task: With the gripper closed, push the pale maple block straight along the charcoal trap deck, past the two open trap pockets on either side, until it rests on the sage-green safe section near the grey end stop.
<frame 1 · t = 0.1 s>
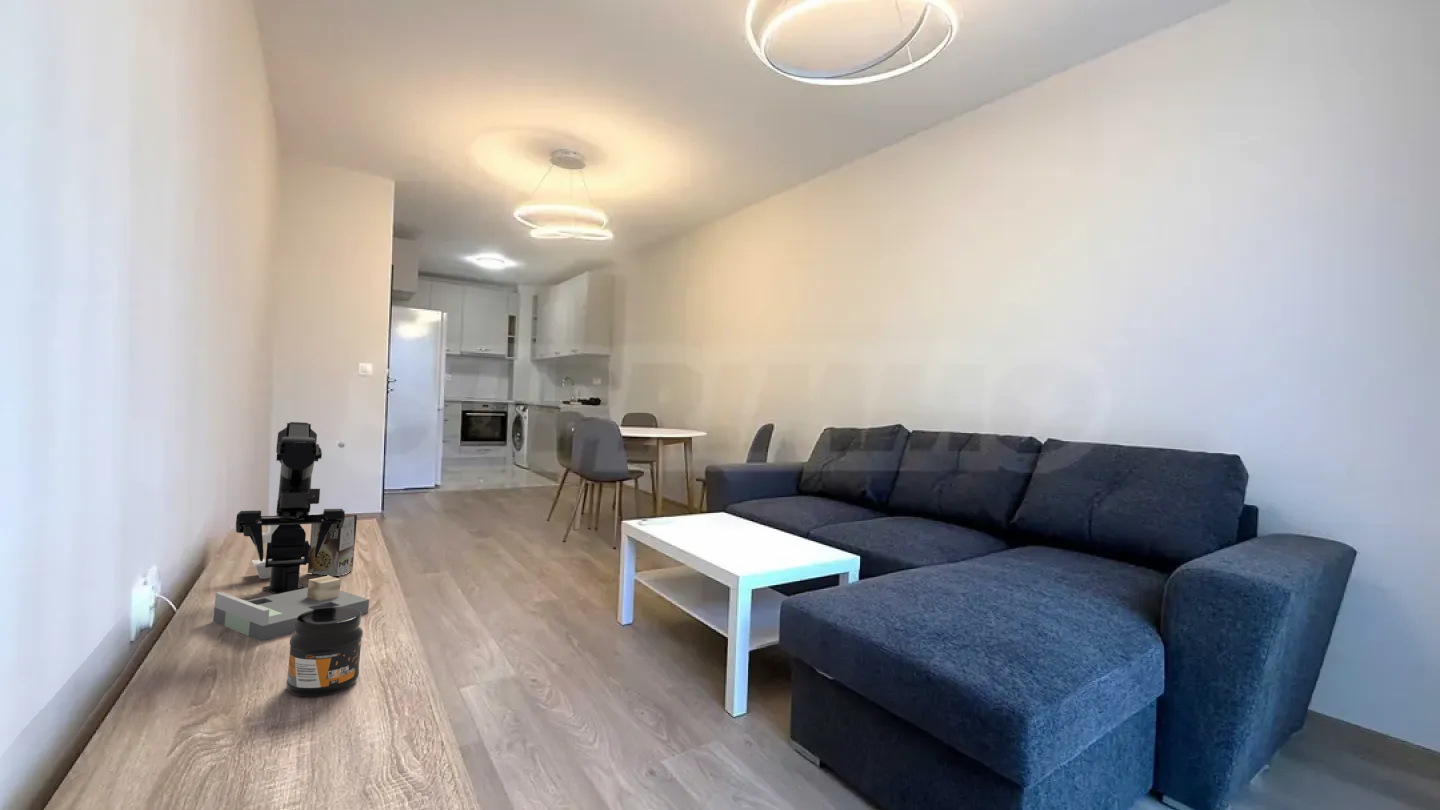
hand: (289, 559, 124), 15 cm above the tv stand, tool tilted 30°, fingers open, 9 cm apart
figurine: (269, 576, 159), on the tv stand
maple block: (323, 596, 137), point 3 cm above the tv stand, touching trap deck
trap deck: (294, 616, 132), on the tv stand
supplement container: (322, 686, 103), on the tv stand
coffee box: (330, 573, 165), on the tv stand
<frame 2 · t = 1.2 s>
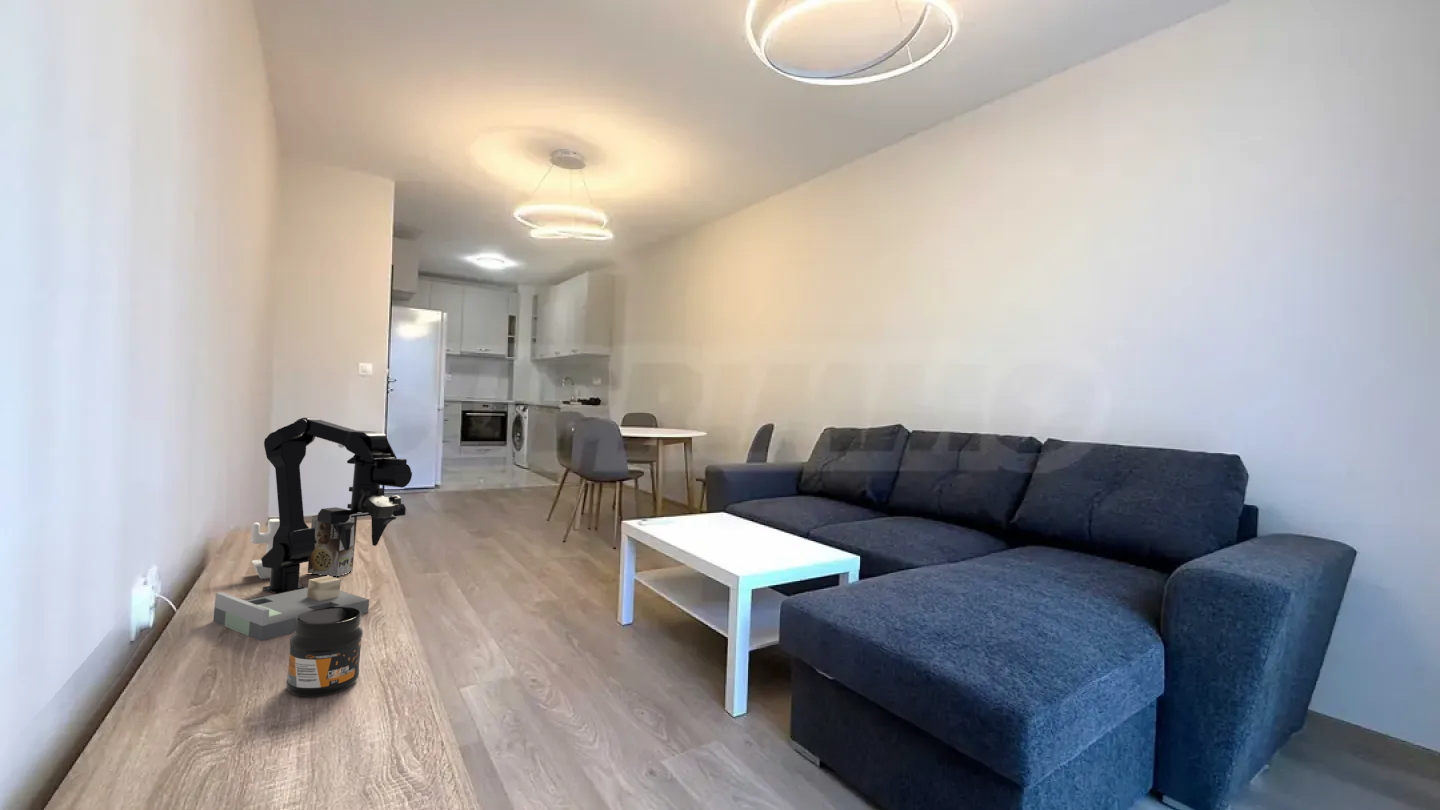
hand: (360, 547, 145), 13 cm above the tv stand, tool pointing down, fingers open, 7 cm apart
nothing on the tv stand moved.
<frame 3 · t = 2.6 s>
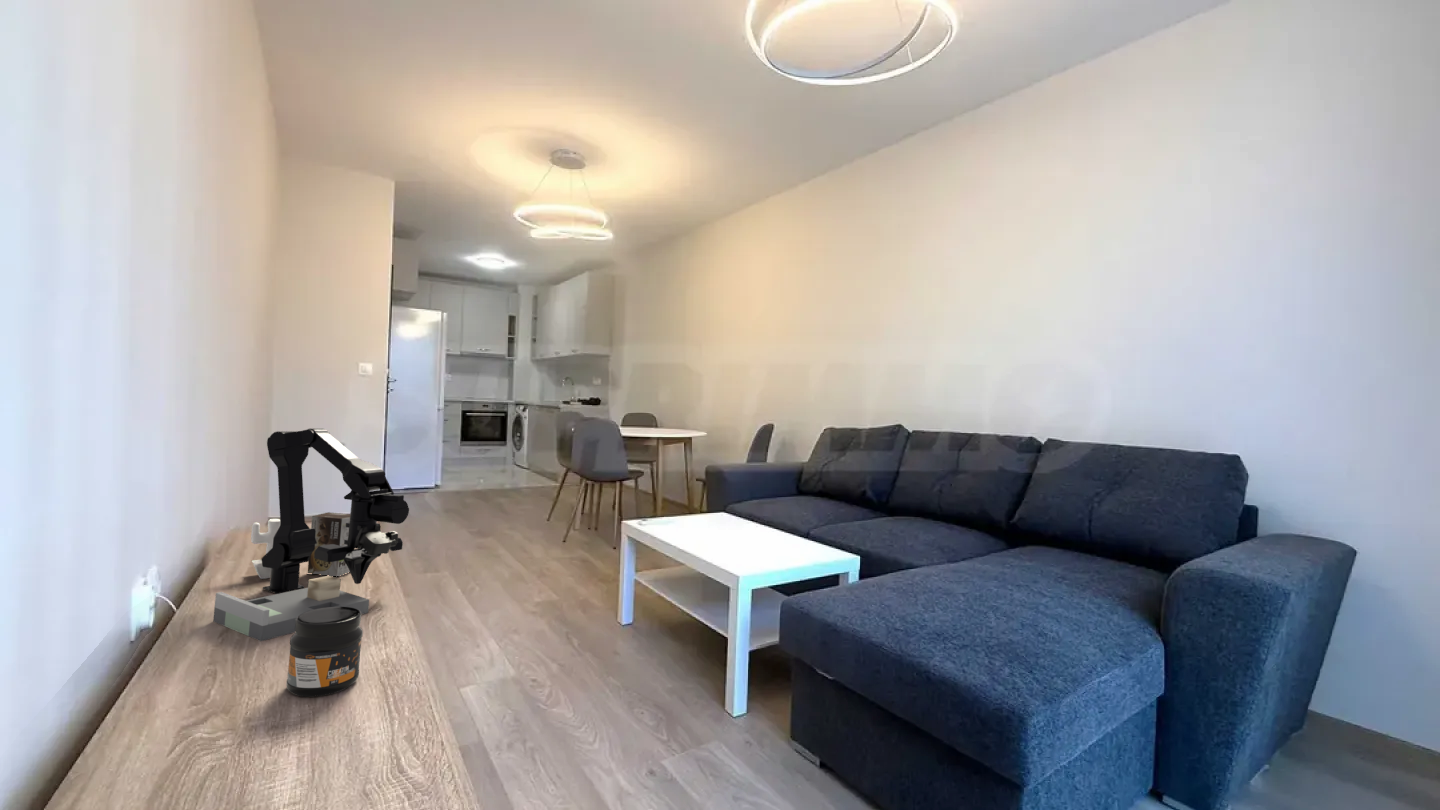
hand: (357, 583, 145), 4 cm above the tv stand, tool pointing down, fingers closed
nothing on the tv stand moved.
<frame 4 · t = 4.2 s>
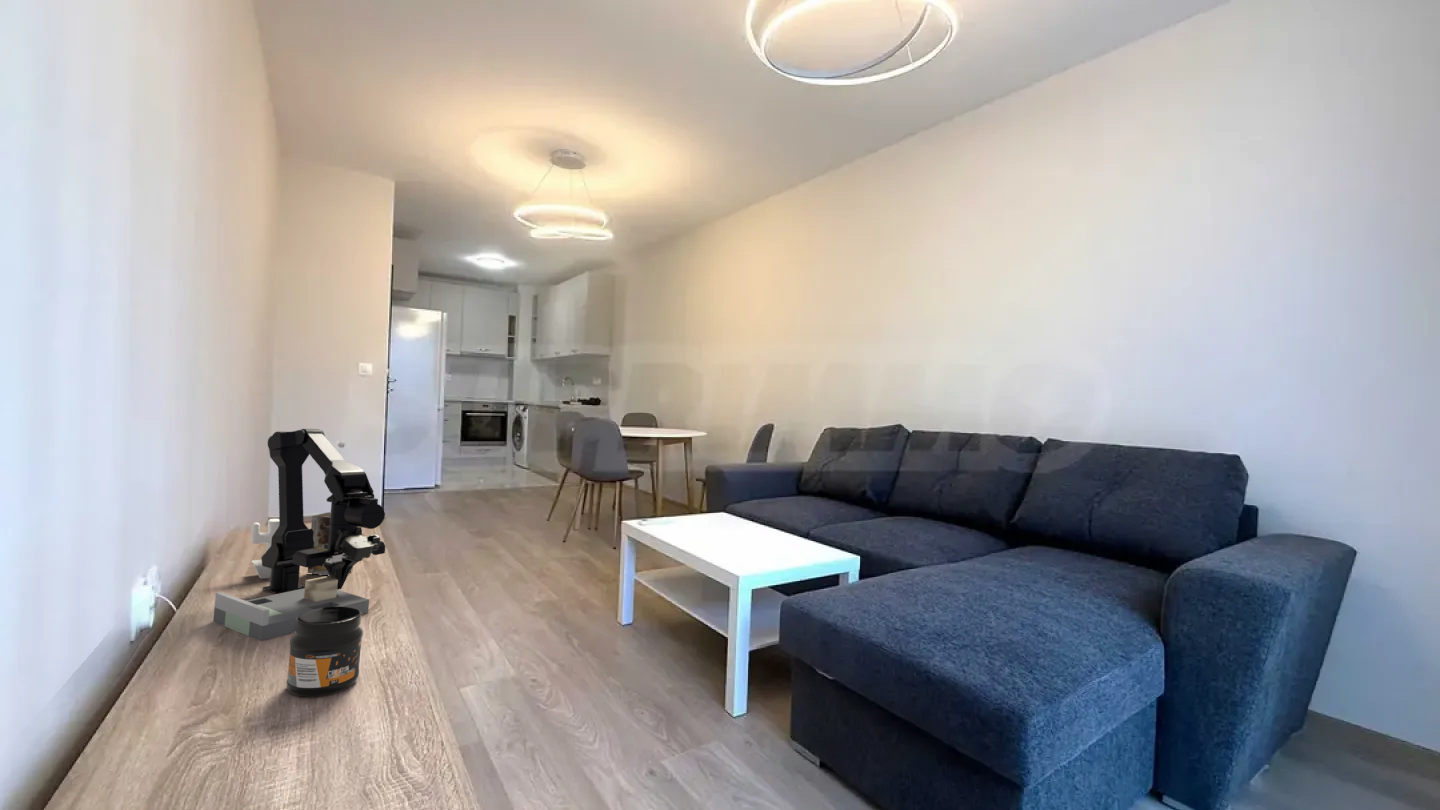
hand: (338, 589, 140), 4 cm above the tv stand, tool pointing down, fingers closed
maple block: (320, 597, 137), point 3 cm above the tv stand, touching gripper
everything else where it was.
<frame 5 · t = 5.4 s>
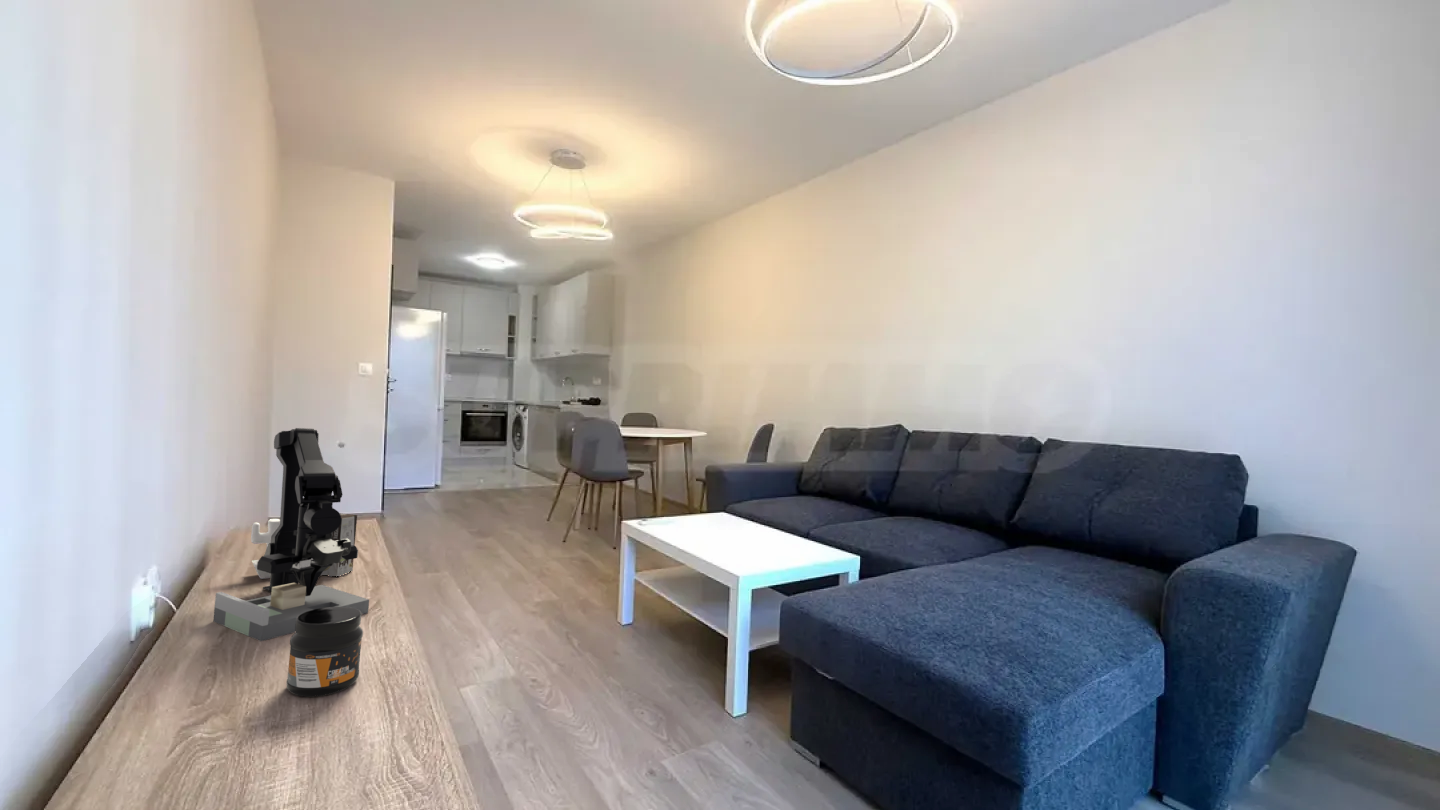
hand: (307, 595, 134), 4 cm above the tv stand, tool pointing down, fingers closed
maple block: (287, 605, 130), point 3 cm above the tv stand, touching gripper, trap deck
everything else where it was.
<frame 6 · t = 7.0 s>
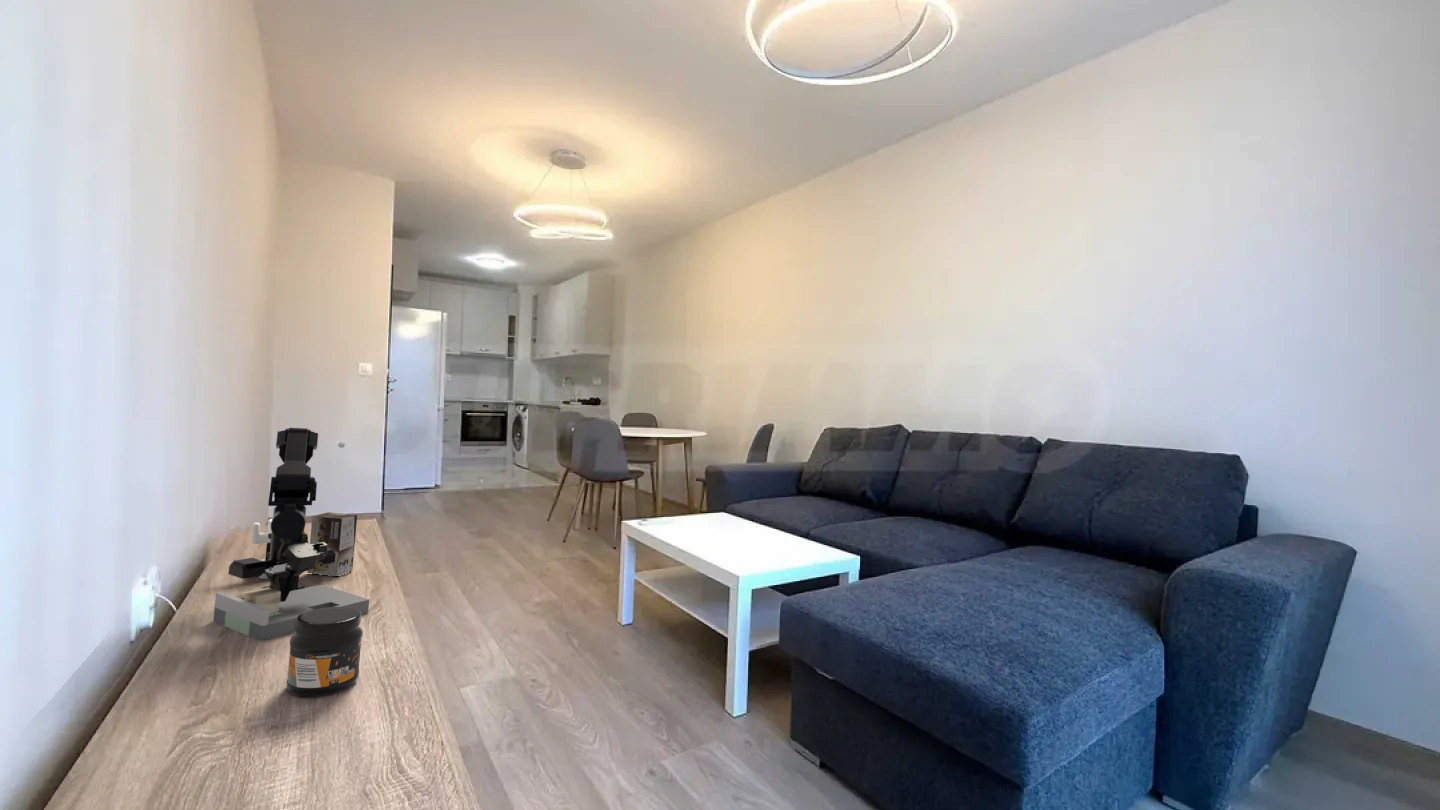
hand: (282, 601, 129), 4 cm above the tv stand, tool pointing down, fingers closed
maple block: (261, 611, 126), point 3 cm above the tv stand, touching gripper, trap deck
everything else where it was.
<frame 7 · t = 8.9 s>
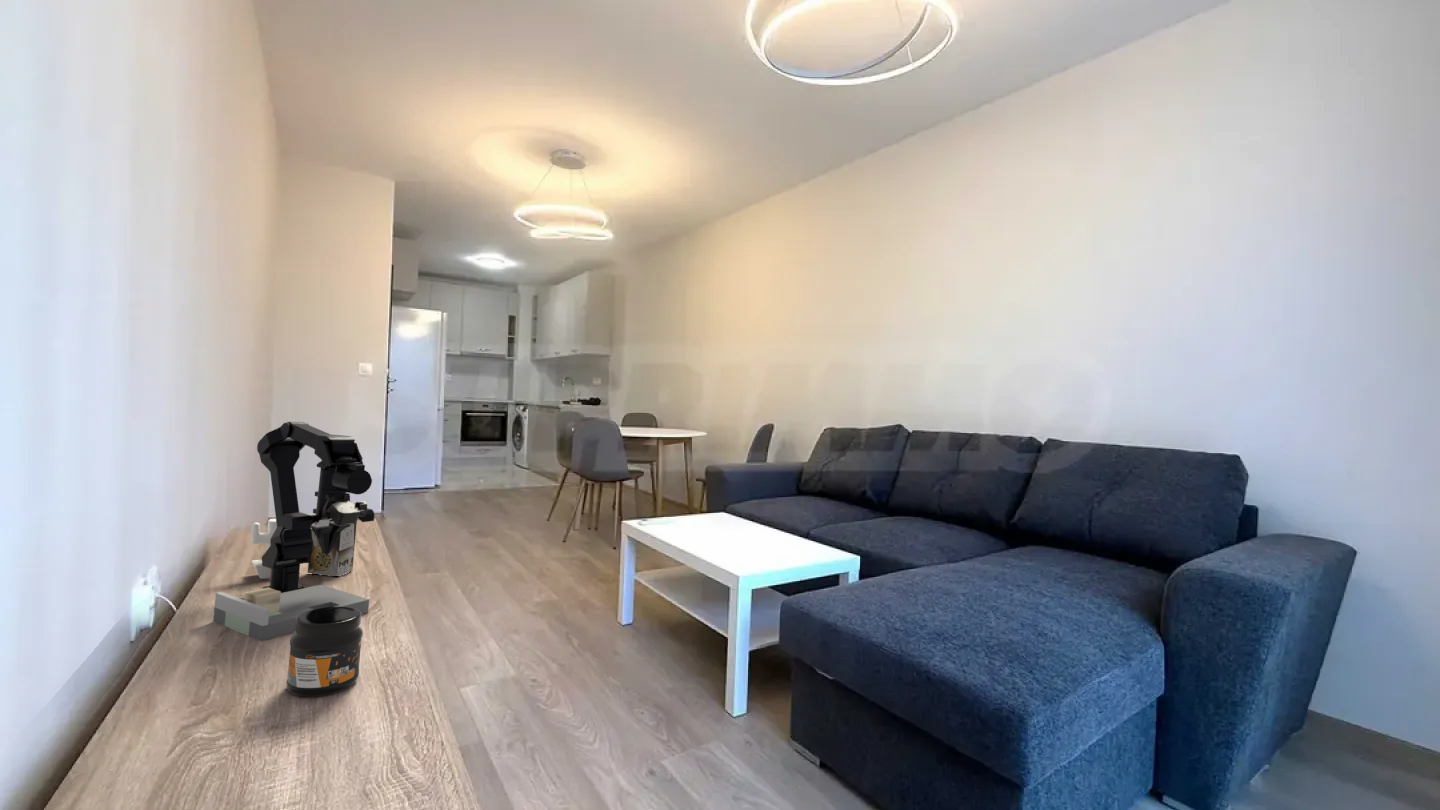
hand: (326, 553, 142), 12 cm above the tv stand, tool pointing down, fingers closed
maple block: (261, 611, 126), point 3 cm above the tv stand, touching trap deck
everything else where it was.
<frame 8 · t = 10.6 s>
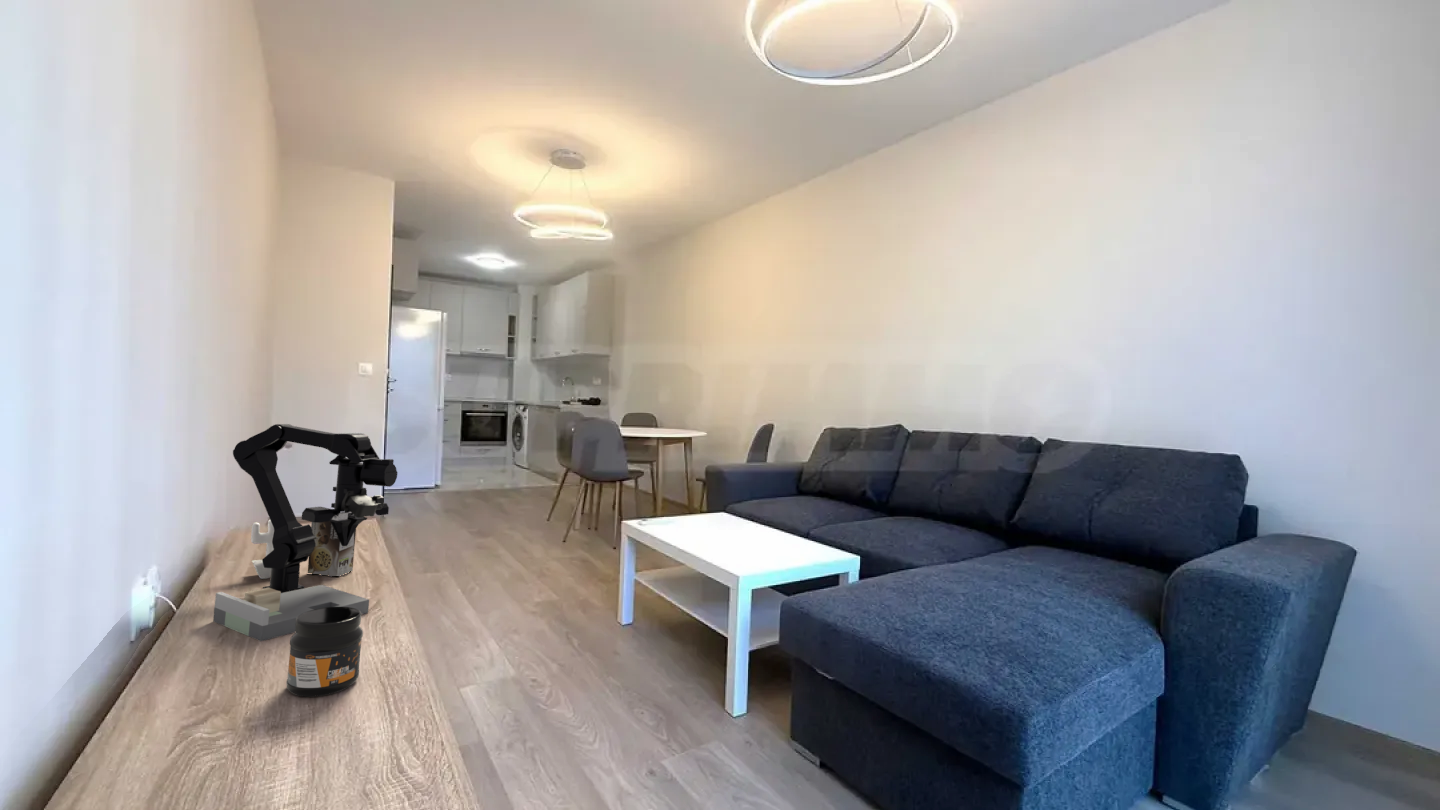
hand: (344, 545, 149), 12 cm above the tv stand, tool pointing down, fingers closed
nothing on the tv stand moved.
at the end: maple block 0.8 cm from the target spot on the trap deck, point 3.0 cm above the trap deck's base; maple block tilted 0° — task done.
